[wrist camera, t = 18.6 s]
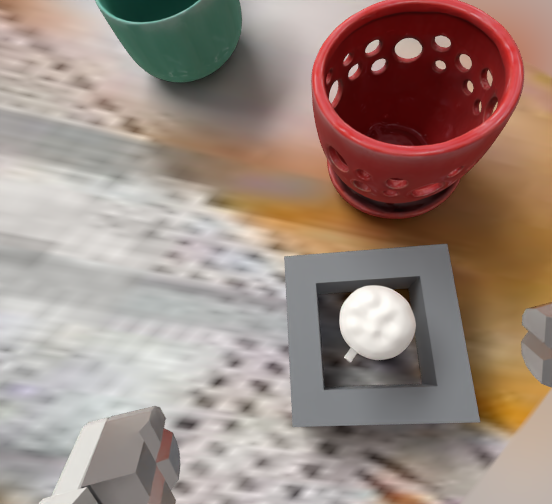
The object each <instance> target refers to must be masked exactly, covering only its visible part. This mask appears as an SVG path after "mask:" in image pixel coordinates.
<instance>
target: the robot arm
mask: <svg viewBox="0 0 552 504" xmlns="http://www.w3.org/2000/svg"><path fill="white" fill-rule="evenodd" d="M522 325H523V326H524V327H525V328H526V329H527V330H528V333H527V334H526V335H525V337H524V338H523V340H522V341H521V348H522V356H523V359H524V361H525V364H526V366H527V368H528V369H529V370H530V372H531V373H532V375H533V376H534V377H535V378H536V379H537V380H538V381H539V382H540V383H541V384H544V385H546V386H549V387H552V302H550V303H546V304H542V305H538V306H535V307H531V308H527V309H526V310H525V312H524V313H523V316H522ZM165 420H166V418H165V416H164V414H163V412H162V410H161V408H160V407H157V406H153V407H149V408H144V409H140V410H136V411H132V412H128V413H123V414H119V415H115V416H111V417H109V418H104V419H100V420H96V421H92V422H88V423H87V424H86V425H85V426H84V427H83V428H82V429H81V432H80V434H79V436H78V438H77V440H76V443H75V445H74V447H73V449H72V451H71V454H70V456H69V458H68V460H67V463H66V465H65V467H64V469H63V471H62V474H61V476H60V478H59V480H58V482H57V485H56V487H55V489H54V491H53V493H52V496H51V497H47V498H43V499H42V500H41V501H40V502H39V503H38V504H175V503H176V500H175V498H174V496H173V494H172V492H171V489H172V488H173V487H174V485H175V484H176V482H177V481H178V480H179V473H180V453H179V448H178V444H177V441H176V439H175V436H174V434H173V433H172V432H170V431H168V430H167V429H165V428H164V425H165Z"/></svg>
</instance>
